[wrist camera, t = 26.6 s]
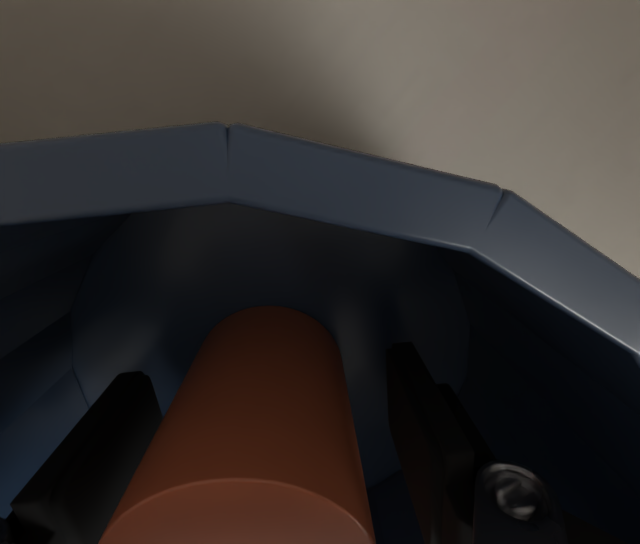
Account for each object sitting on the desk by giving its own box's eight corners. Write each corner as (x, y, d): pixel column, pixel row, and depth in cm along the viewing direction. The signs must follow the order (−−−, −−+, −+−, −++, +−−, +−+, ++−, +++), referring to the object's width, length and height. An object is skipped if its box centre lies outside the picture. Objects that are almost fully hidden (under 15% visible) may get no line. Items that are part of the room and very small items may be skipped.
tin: (493, 121, 10) (1027, 37, 3) (468, 485, 14) (627, 809, 7) (-13, 173, 9) (-970, 239, 2) (132, 524, 14) (-37, 894, 7)
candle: (336, 296, 11) (374, 462, 5) (347, 418, 12) (385, 647, 7) (183, 313, 11) (44, 500, 5) (214, 433, 12) (137, 677, 7)
